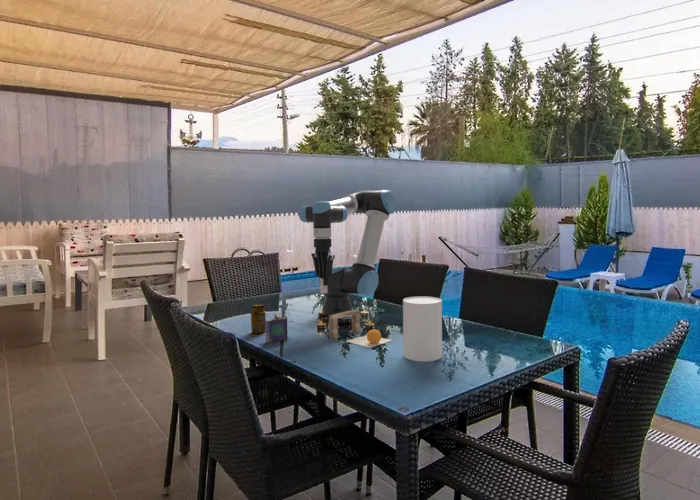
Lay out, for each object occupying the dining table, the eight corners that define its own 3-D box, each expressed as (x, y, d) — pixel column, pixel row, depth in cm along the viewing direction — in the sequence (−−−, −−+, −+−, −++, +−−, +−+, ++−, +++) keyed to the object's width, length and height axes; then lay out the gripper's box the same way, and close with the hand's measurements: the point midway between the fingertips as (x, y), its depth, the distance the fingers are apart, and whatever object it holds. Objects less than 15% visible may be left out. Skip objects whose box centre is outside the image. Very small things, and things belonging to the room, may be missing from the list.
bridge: (329, 337, 211) (328, 315, 210) (355, 330, 221) (354, 309, 220) (334, 338, 209) (333, 316, 208) (360, 332, 219) (359, 310, 218)
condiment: (265, 330, 226) (264, 302, 225) (269, 334, 218) (268, 306, 217) (248, 331, 223) (247, 304, 222) (251, 336, 215) (250, 308, 214)
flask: (267, 343, 204) (266, 316, 203) (264, 342, 207) (263, 315, 206) (288, 340, 209) (288, 313, 208) (285, 338, 211) (285, 312, 210)
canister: (415, 363, 176) (415, 305, 174) (396, 353, 189) (396, 298, 187) (449, 358, 182) (449, 301, 180) (428, 348, 194) (428, 295, 192)
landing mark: (369, 335, 214) (368, 334, 214) (392, 341, 204) (392, 340, 204) (345, 341, 205) (345, 340, 205) (368, 347, 196) (368, 347, 196)
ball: (377, 344, 204) (371, 330, 205) (386, 339, 200) (380, 326, 202) (367, 347, 200) (362, 333, 202) (376, 342, 196) (370, 329, 198)
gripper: (305, 238, 223) (307, 292, 225) (325, 239, 213) (327, 296, 216) (319, 236, 228) (321, 289, 230) (339, 238, 218) (340, 293, 221)
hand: (324, 292), depth 223 cm, fingers closed
